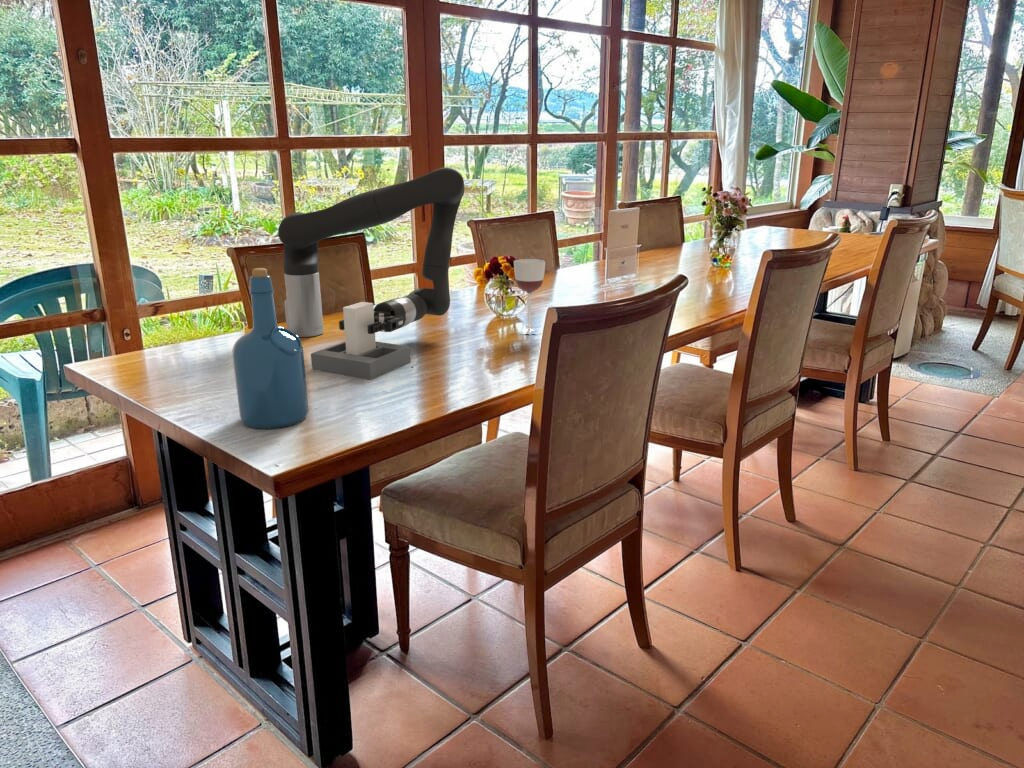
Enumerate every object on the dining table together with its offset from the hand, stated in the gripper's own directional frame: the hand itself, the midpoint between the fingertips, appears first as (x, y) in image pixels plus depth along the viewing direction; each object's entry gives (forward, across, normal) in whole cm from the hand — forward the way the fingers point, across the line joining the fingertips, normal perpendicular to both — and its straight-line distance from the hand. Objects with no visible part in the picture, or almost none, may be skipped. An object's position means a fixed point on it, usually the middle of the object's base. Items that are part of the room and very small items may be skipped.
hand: (354, 327), depth 184 cm
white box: (-2, 0, +9) cm, 9 cm away
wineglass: (-50, +22, +10) cm, 55 cm away
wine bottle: (+35, +8, +10) cm, 37 cm away
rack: (-2, 0, +10) cm, 10 cm away
